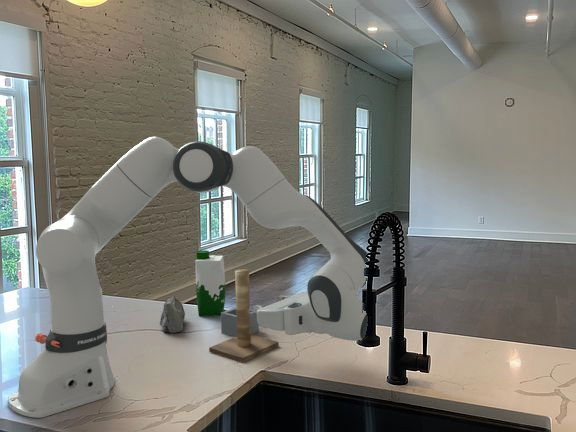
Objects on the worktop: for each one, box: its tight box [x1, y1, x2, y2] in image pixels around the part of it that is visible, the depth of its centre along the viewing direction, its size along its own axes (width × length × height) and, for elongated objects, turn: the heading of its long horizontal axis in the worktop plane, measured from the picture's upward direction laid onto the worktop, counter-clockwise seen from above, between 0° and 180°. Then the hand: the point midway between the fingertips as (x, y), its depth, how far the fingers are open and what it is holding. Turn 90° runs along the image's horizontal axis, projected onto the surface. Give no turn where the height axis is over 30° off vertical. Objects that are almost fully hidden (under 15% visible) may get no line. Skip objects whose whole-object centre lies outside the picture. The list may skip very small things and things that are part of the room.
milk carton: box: [194, 249, 226, 317], centre depth 182 cm, size 9×9×20 cm
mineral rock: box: [159, 294, 186, 334], centre depth 170 cm, size 13×11×10 cm
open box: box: [220, 307, 260, 338], centre depth 165 cm, size 8×8×6 cm
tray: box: [208, 334, 279, 363], centre depth 152 cm, size 14×12×1 cm
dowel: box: [234, 268, 251, 347], centre depth 150 cm, size 4×4×20 cm
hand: (267, 303), depth 145 cm, fingers open, 8 cm apart
